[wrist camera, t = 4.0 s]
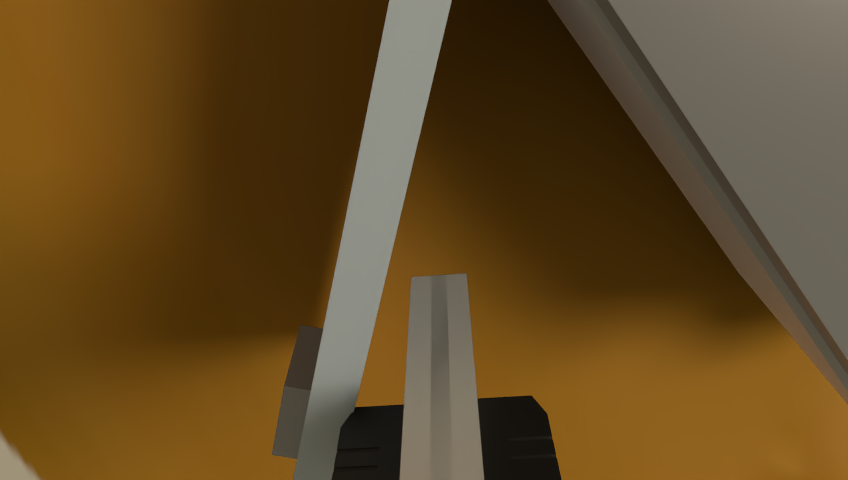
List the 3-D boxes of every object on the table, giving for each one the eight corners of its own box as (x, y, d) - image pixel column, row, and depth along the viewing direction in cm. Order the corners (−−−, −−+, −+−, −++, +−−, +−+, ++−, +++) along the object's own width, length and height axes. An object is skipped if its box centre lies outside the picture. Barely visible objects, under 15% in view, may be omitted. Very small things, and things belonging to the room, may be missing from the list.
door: (395, -159, 15) (376, -196, 8) (462, -141, 15) (498, -162, 9) (300, 345, 21) (244, 566, 14) (351, 355, 21) (319, 578, 14)
